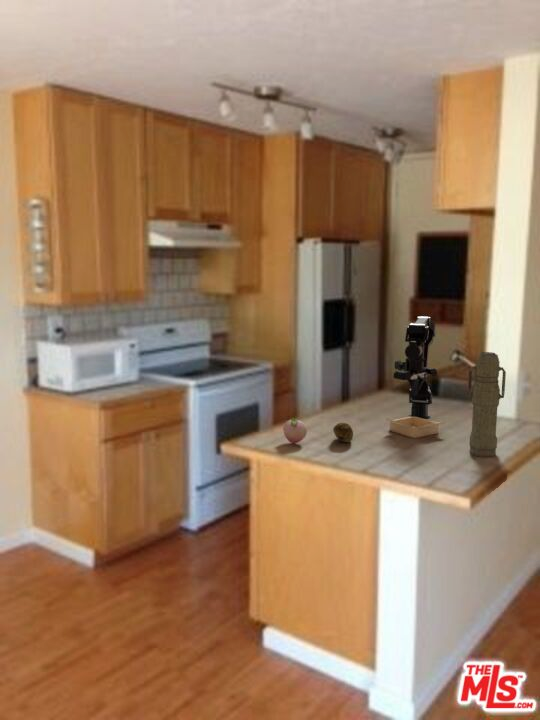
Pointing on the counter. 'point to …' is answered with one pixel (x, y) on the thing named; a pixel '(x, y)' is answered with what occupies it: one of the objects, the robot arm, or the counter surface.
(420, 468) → the counter surface
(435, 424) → the left flap
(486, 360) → the thermos
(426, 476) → the counter surface
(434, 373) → the robot arm
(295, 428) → the decorative fruit
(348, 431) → the potato
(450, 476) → the counter surface
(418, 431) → the carton
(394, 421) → the far flap
